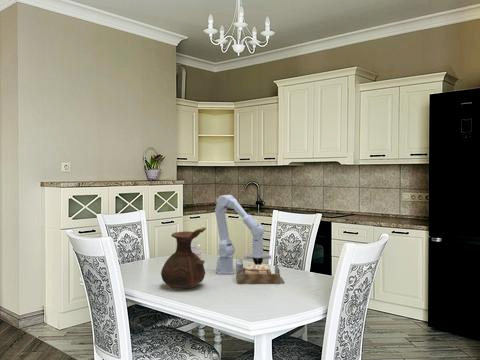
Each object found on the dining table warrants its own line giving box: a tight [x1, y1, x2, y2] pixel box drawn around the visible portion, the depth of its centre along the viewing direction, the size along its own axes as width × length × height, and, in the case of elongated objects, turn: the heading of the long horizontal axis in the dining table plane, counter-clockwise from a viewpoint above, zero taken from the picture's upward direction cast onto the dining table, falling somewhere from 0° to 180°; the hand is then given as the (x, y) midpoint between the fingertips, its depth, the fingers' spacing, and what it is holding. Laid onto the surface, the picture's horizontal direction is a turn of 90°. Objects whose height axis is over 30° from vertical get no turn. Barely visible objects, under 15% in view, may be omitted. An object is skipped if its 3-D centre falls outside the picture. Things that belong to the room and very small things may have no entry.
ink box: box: [191, 240, 202, 260], centre depth 280 cm, size 9×5×15 cm, turn 71°
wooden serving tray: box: [235, 259, 281, 285], centre depth 237 cm, size 22×13×10 cm, turn 93°
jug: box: [160, 227, 207, 290], centre depth 224 cm, size 22×22×30 cm
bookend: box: [274, 264, 286, 284], centre depth 238 cm, size 4×12×7 cm, turn 3°
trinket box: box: [243, 264, 272, 274], centre depth 240 cm, size 13×15×8 cm
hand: (257, 271), depth 248 cm, fingers closed
